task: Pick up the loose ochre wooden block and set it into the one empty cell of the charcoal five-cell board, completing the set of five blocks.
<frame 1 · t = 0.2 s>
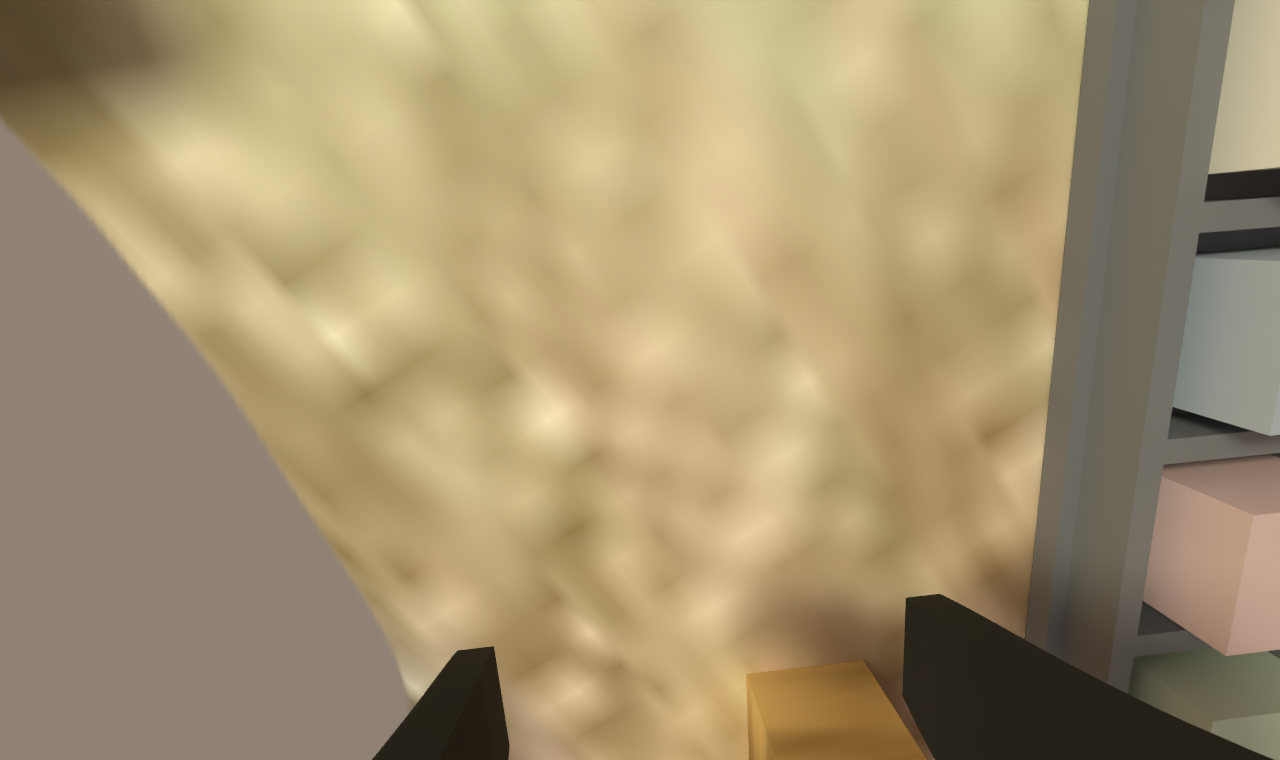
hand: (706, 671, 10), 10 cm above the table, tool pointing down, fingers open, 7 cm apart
five-cell board: (1152, 502, 22), on the table
ochre block: (805, 716, 23), on the table
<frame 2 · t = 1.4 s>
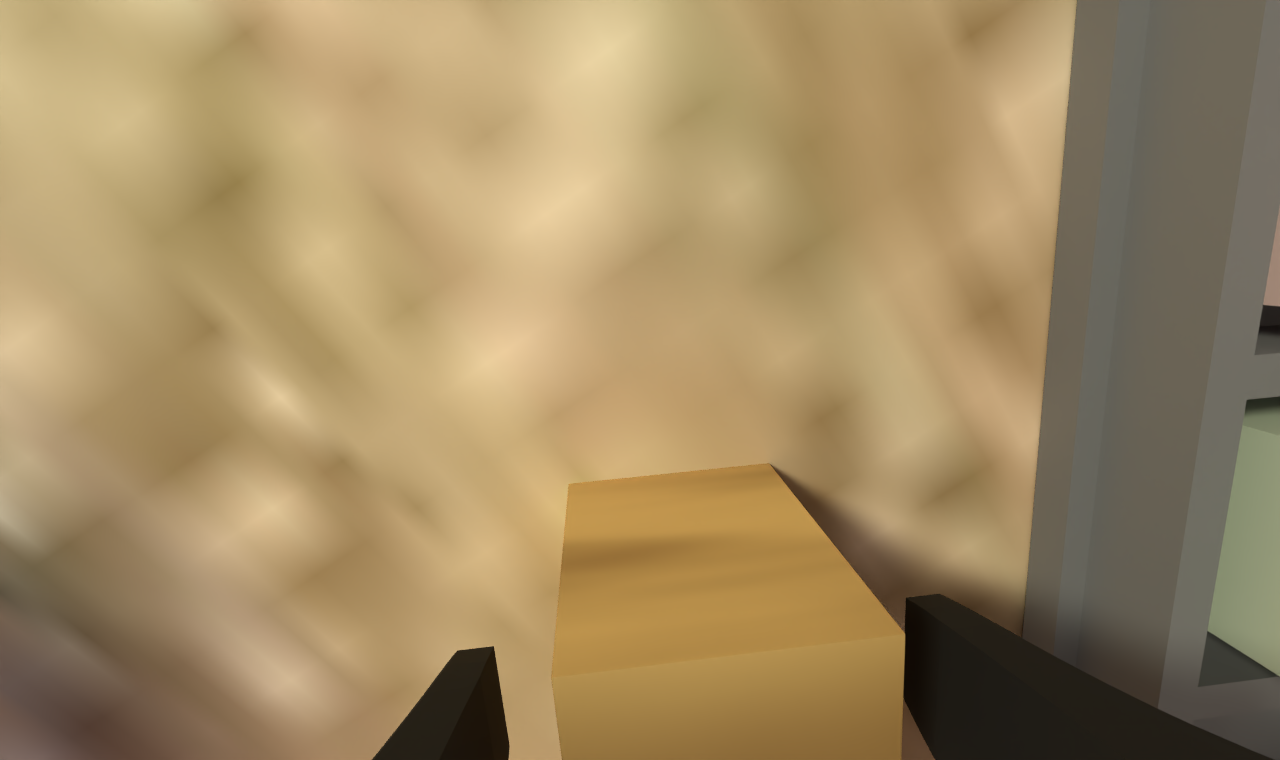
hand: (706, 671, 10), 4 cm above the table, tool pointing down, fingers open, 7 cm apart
five-cell board: (1256, 178, 13), on the table
ochre block: (675, 563, 14), on the table
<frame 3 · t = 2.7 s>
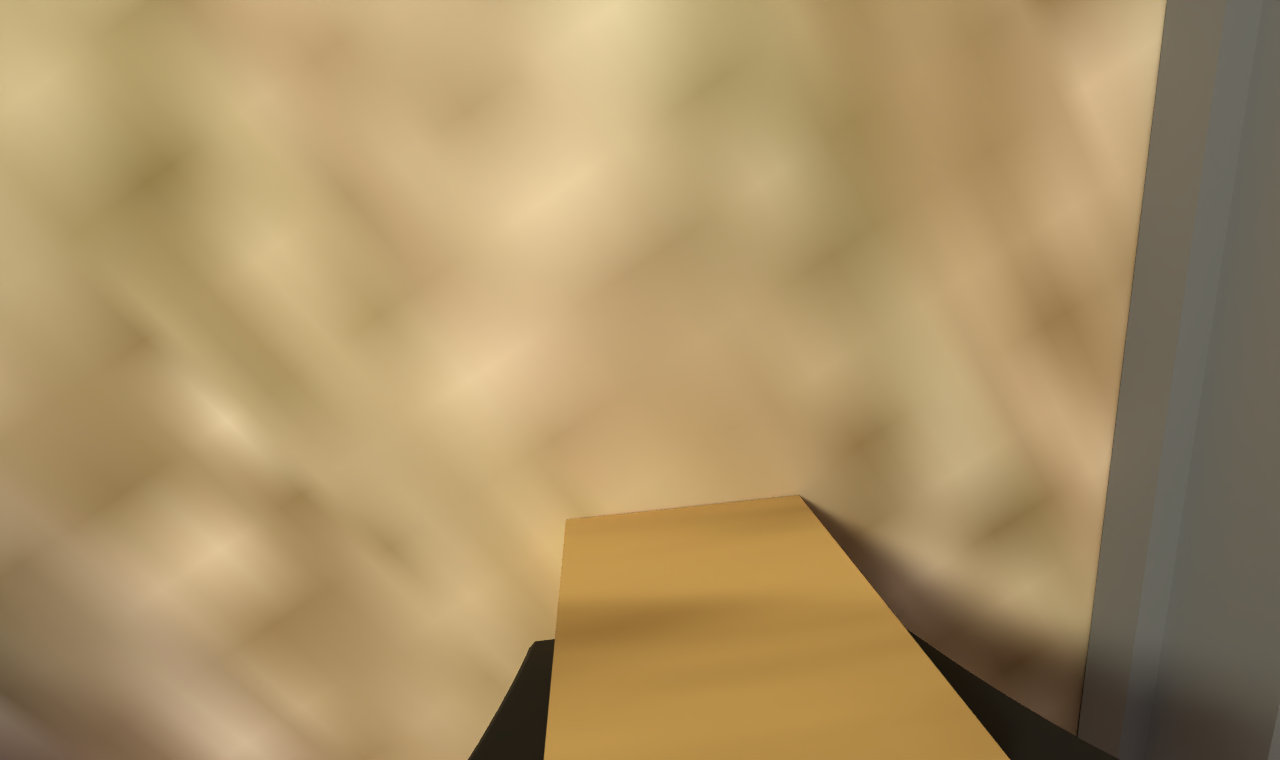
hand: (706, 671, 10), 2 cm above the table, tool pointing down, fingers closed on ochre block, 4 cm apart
ochre block: (690, 610, 12), on the table, touching gripper
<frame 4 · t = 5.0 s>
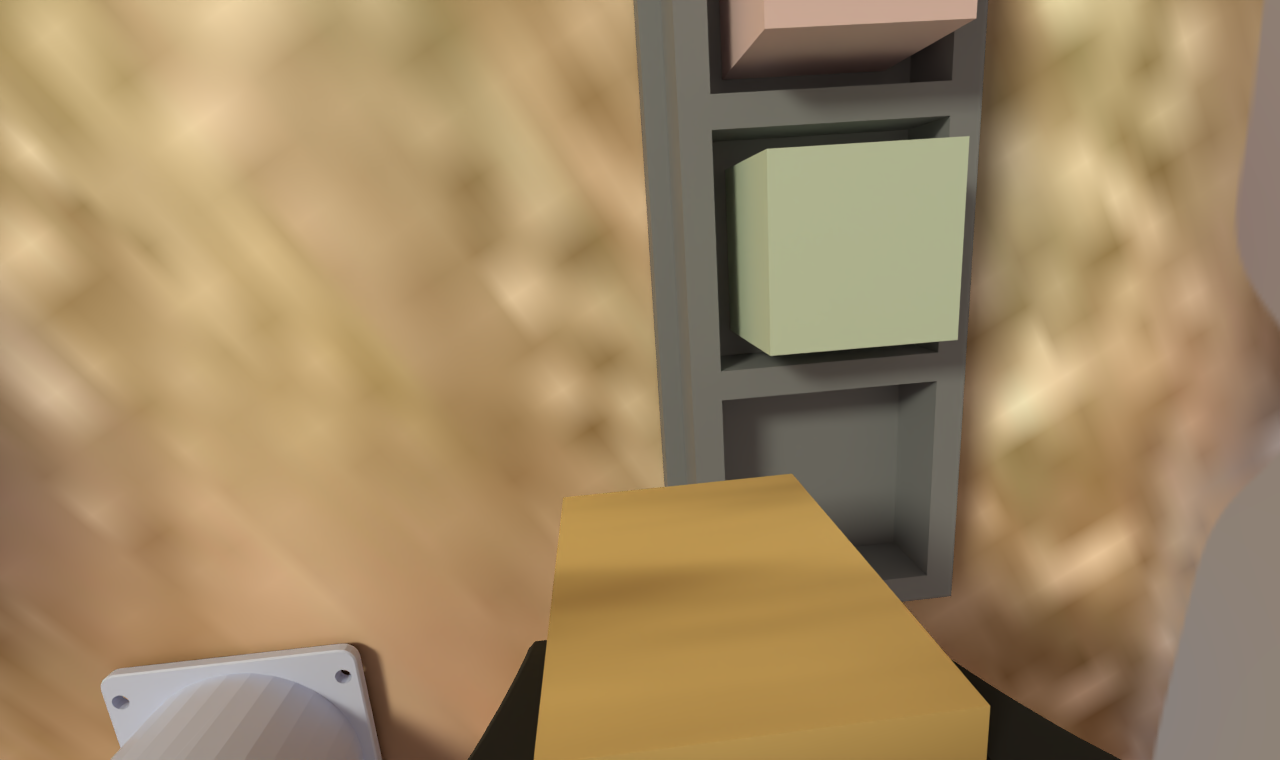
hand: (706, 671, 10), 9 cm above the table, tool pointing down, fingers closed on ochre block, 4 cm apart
ochre block: (685, 587, 12), point 7 cm above the table, touching gripper
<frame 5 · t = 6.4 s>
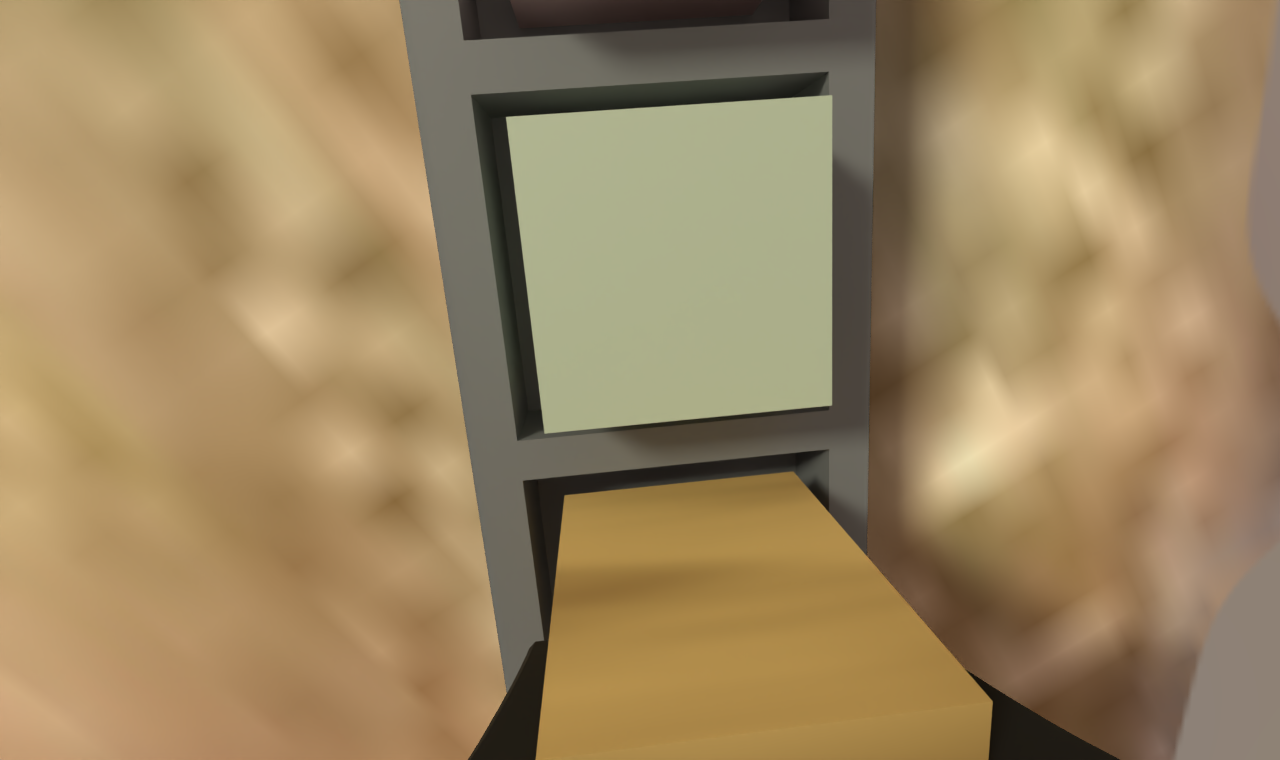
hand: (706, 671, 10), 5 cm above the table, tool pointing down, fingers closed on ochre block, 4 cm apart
ochre block: (687, 585, 12), point 3 cm above the table, touching gripper
when the fingers open (4 cm above the table, at t = 7.5 s): ochre block drops 1 cm, resting on five-cell board.
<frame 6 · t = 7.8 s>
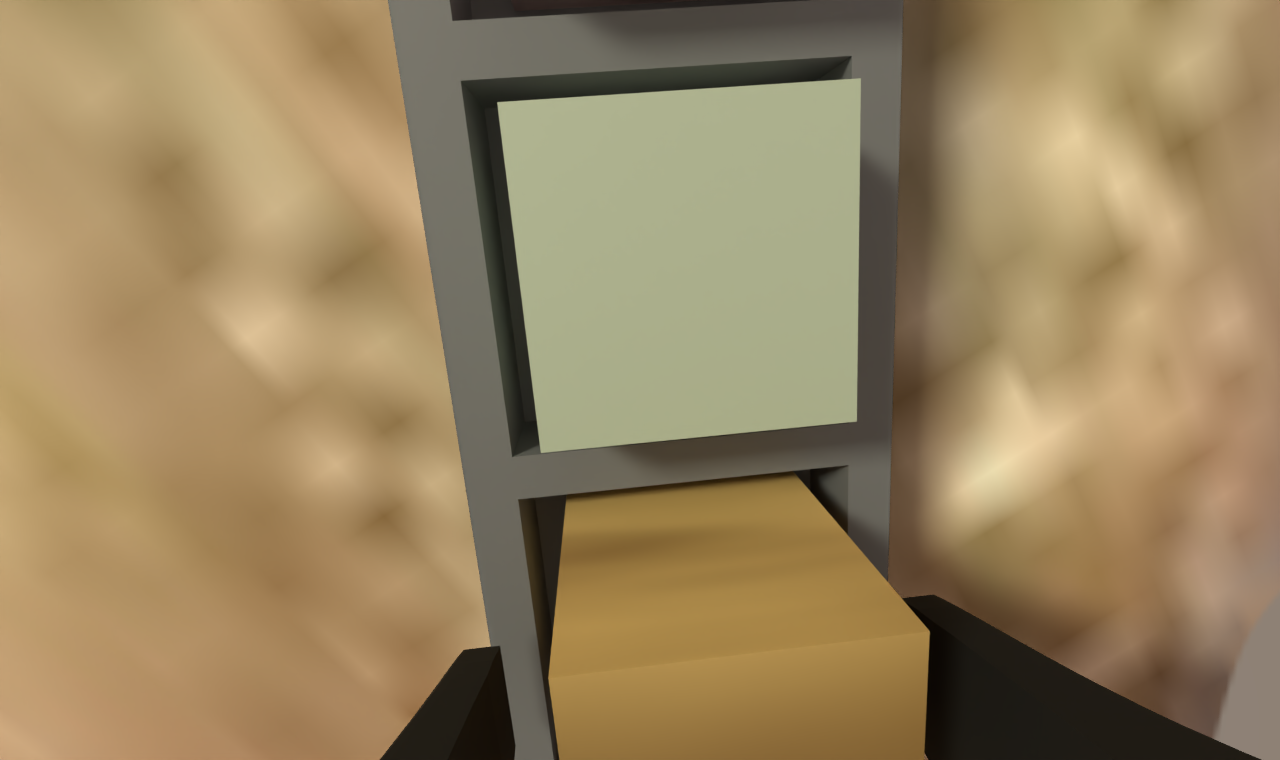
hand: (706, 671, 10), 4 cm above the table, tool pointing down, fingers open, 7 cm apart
ochre block: (680, 557, 13), point 1 cm above the table, touching five-cell board
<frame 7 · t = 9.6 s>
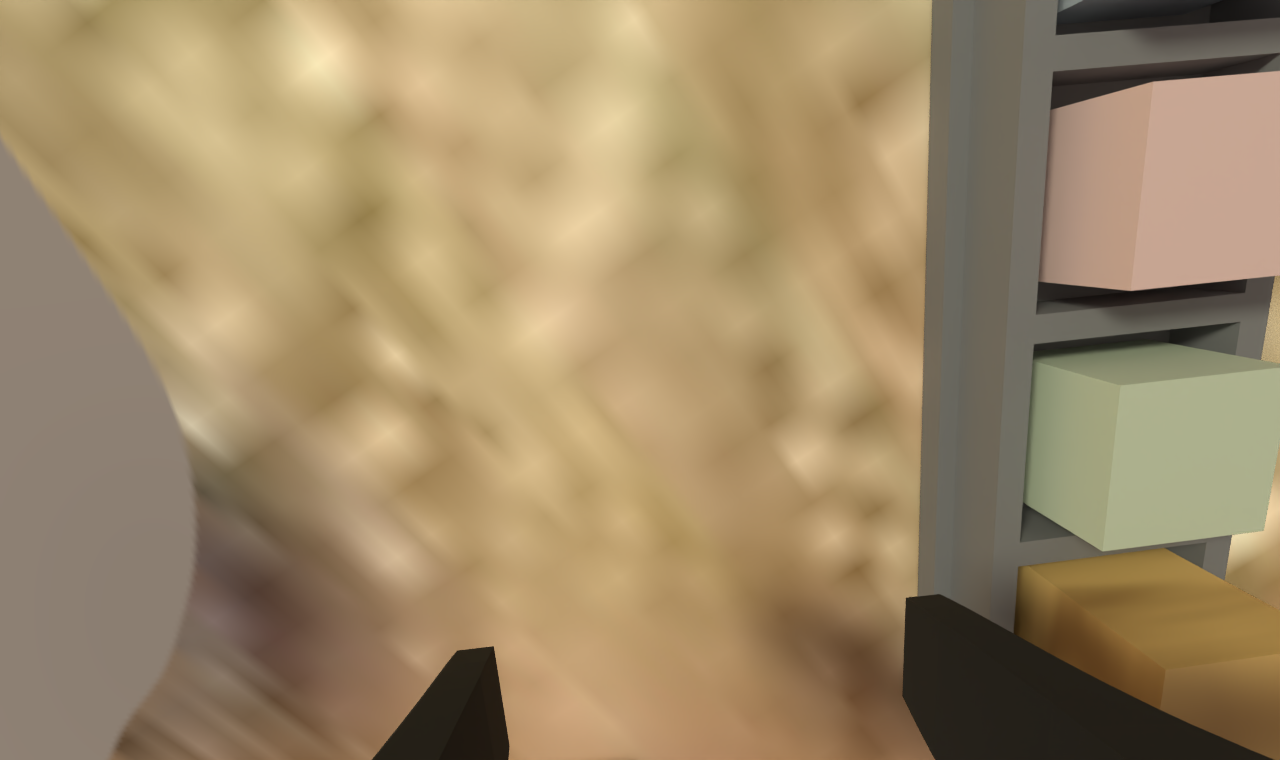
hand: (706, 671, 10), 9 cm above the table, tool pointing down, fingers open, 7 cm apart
five-cell board: (1065, 196, 18), on the table
ochre block: (1056, 593, 21), point 1 cm above the table, touching five-cell board
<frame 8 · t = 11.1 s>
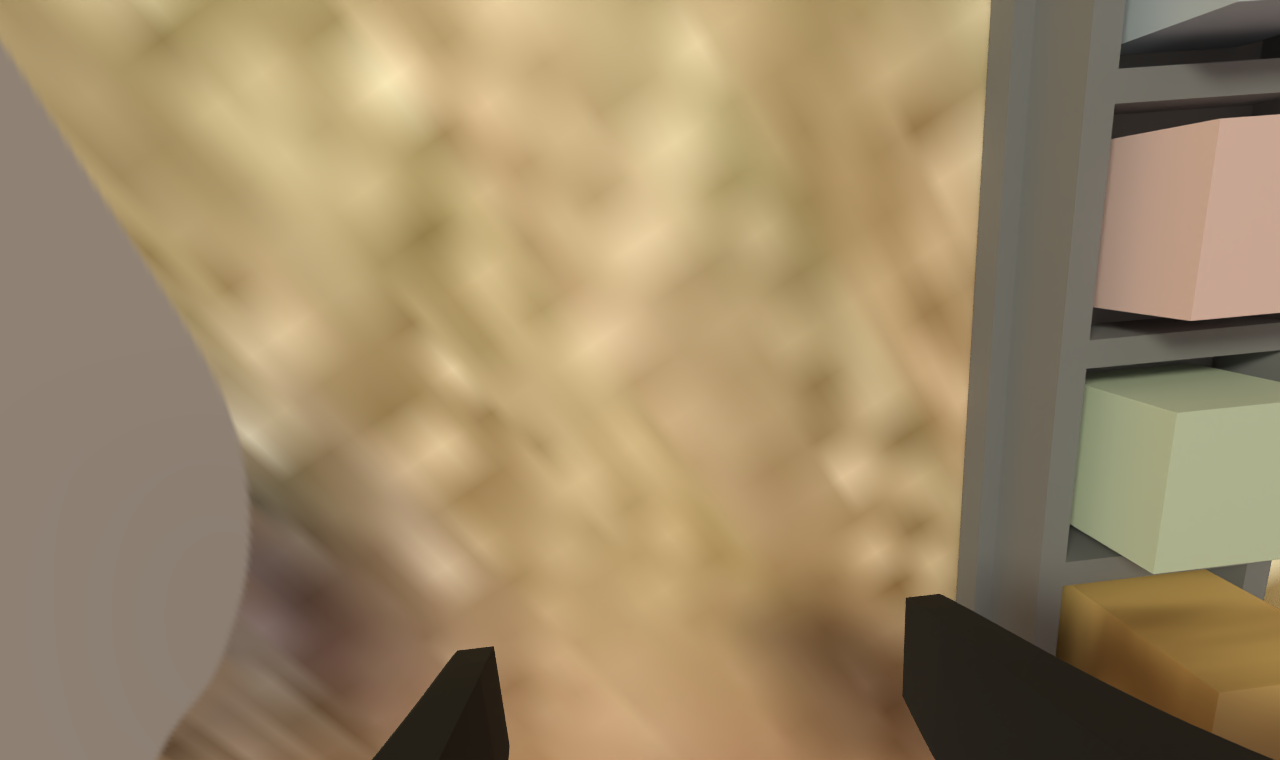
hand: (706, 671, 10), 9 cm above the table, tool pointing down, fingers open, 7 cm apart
five-cell board: (1112, 221, 19), on the table
ochre block: (1094, 611, 21), point 1 cm above the table, touching five-cell board
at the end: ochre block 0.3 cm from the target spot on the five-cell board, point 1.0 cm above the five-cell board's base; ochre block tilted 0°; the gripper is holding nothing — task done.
